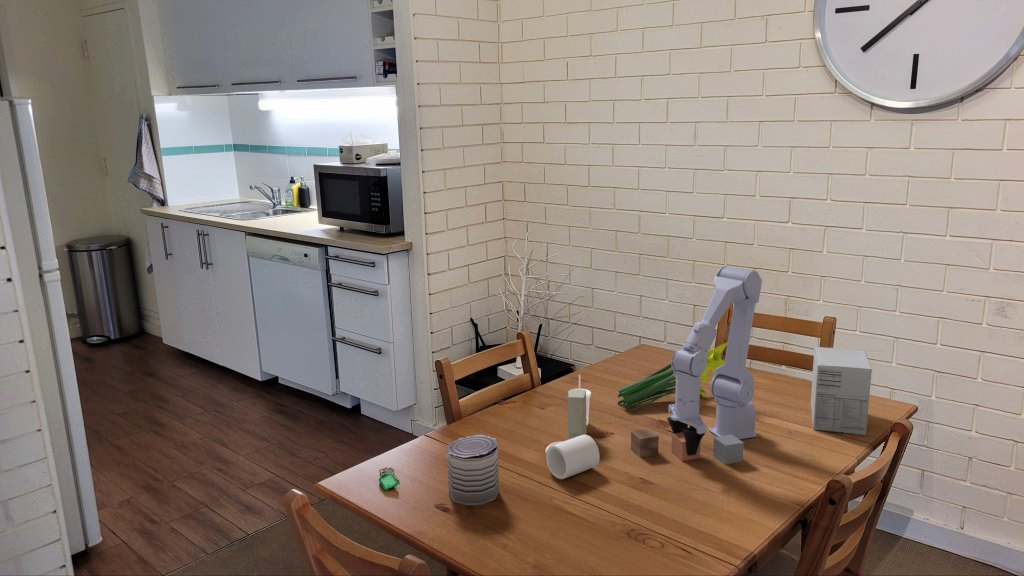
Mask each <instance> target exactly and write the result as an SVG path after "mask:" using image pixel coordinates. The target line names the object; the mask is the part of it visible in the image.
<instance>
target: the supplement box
mask: <svg viewBox="0 0 1024 576" xmlns="http://www.w3.org/2000/svg"><path fill="white" fill-rule="evenodd" d="M867 356H868V355H867V353H866V351H865V350H858V349H850V348H849V349H848V348H847V349H846V348H838V347H837V348H836V347H835V348H833V347H822V346H814V348H813V363H812V377H811V378H812V379H811V394H810V395H811V396H810V409H811V420H812V430H814V431H815V430H816V431H817V430H818V431H826V432H833V431H834V433H835V432H836V433H841V432H843V433H844V434H850V433H851V435H859V434H861V435H860V436H865V435H867V428H868V416H869V415H868V414H869V406H870V405H869V404H870V393H871V381H872V373H873V367H872V366H871V362H869V359H868V357H867ZM843 433H842V434H843Z"/></svg>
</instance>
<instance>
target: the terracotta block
mask: <svg viewBox="0 0 1024 576" xmlns="http://www.w3.org/2000/svg"><path fill="white" fill-rule="evenodd" d="M701 442H702V440H701V441H700V444H699V446H698V450H697V453H696V455H690V456H688V455H687V451H686V441H685V436H684V433H683V432H681V433H675V434H673V433H671V454H672V455H674V456H675V457H676V458H677V459H678V460H679V461H681V462H684V461H691V460H696V459H701Z"/></svg>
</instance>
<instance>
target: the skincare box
mask: <svg viewBox="0 0 1024 576" xmlns="http://www.w3.org/2000/svg"><path fill="white" fill-rule="evenodd" d="M576 389H577V388H570V389H569V390H568V392H569V393H568V392H567V393H568V394H567V397H566V399H567V402H566V403H567V440H569V439H572V438H575V437H578V436H581V435H587V434H588V433H587V429H588V428H587V426H588V425H587V422H586V390H576Z"/></svg>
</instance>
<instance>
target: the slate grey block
mask: <svg viewBox="0 0 1024 576" xmlns="http://www.w3.org/2000/svg"><path fill="white" fill-rule="evenodd" d="M744 444H745V443H744V442H743V441H742V439H738V438H736V437H735V436H733V435H732V434H731V435H725V436H719V437H718V436H714V437H713V446H712V447H713V448H712V453H713V454H712V457H714V458H715V459H716V460H718V461H719V462H721V464H723V465H730V464H731V465H732V464H736V463H741V462H742V463H743V460H744Z"/></svg>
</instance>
